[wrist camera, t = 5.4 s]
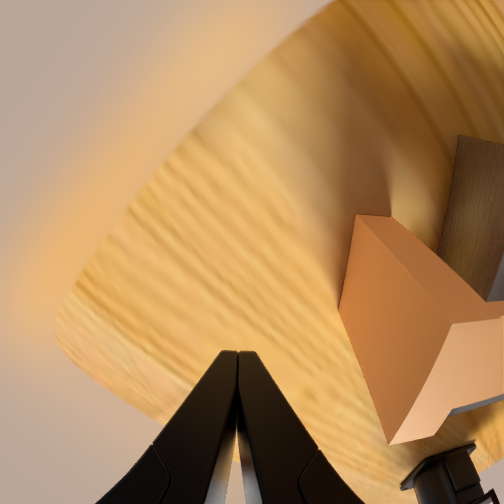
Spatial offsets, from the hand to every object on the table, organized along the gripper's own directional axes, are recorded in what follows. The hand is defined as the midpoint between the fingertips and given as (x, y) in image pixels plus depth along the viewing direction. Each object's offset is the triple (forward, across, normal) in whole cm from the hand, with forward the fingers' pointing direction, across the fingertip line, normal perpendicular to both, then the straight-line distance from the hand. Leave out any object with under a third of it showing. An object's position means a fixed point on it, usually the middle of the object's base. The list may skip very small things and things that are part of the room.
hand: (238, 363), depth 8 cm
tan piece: (+5, -7, 0) cm, 9 cm away
